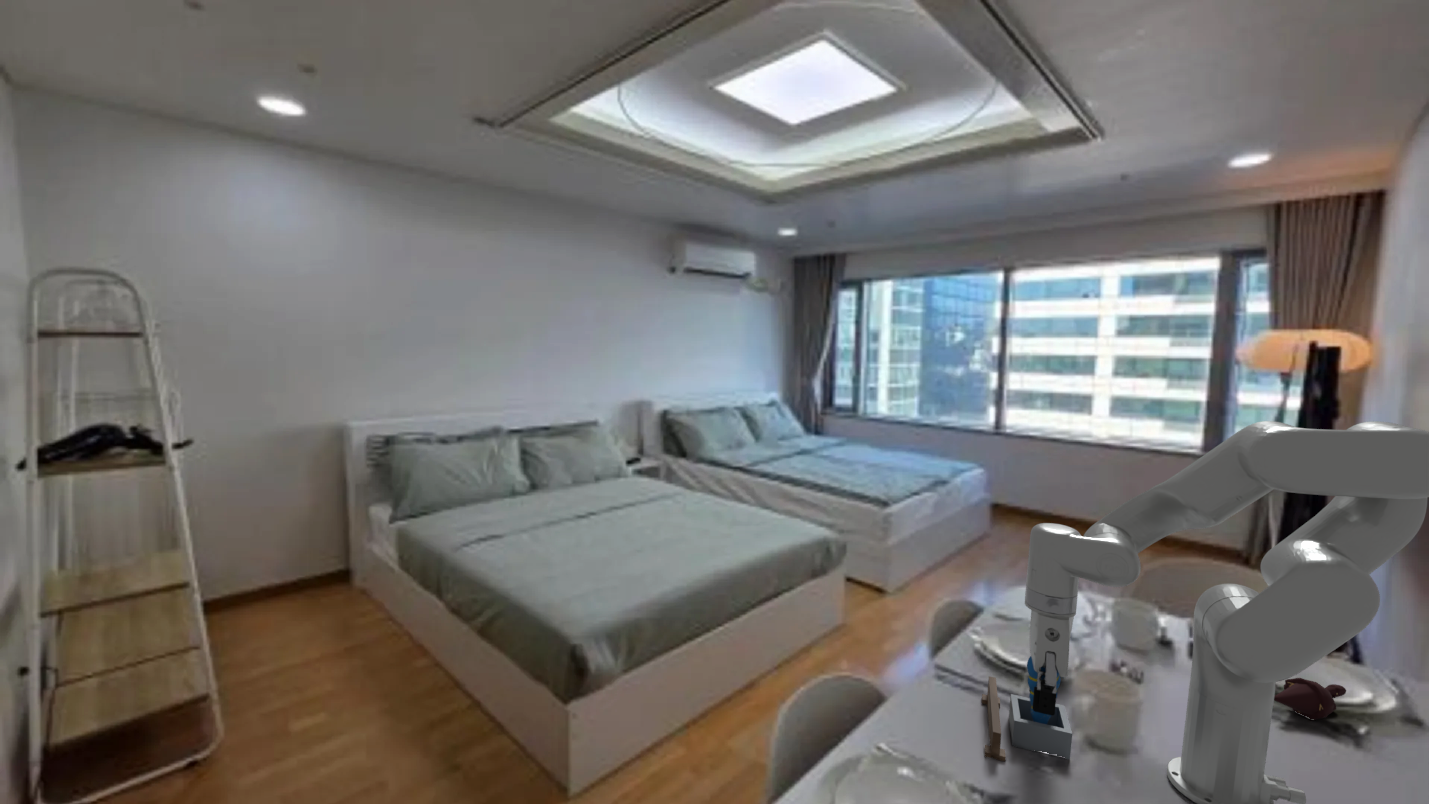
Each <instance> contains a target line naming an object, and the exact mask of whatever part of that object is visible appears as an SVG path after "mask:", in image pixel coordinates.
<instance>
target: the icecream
mask: <svg viewBox="0 0 1429 804" xmlns="http://www.w3.org/2000/svg"><path fill="white" fill-rule="evenodd" d="M1346 693H1347V689H1346V688H1345V687H1344V686H1342V685H1340V684H1335V683H1334V684H1328V685H1326V686H1325V687H1324V686H1322V684H1320V683H1318V682H1316V681H1313V680H1309V679H1305V678H1303V677H1295V678H1288V679H1285V680H1284V684H1283V690H1282V691H1281V692H1278V693H1277V694H1275V696H1274V702H1277V703H1280V704H1282V705H1284V706H1285V707H1287V708H1290V709H1292V710H1293V712H1294V711H1296V712H1297V713H1300V714H1302V715H1304V716H1307V717H1309V718H1310V719H1314V720H1313V721H1316V720H1320V719H1324V718H1327V717H1328V716H1329V715H1330V714H1333V712H1334V711H1337V704H1336V703H1335V700H1334V699H1336V698H1339V697H1343V696H1344V695H1345V694H1346Z"/></svg>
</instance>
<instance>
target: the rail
mask: <svg viewBox="0 0 1429 804" xmlns="http://www.w3.org/2000/svg"><path fill="white" fill-rule="evenodd" d="M997 686H998V685H997V677H994V676H990V675H989V676H988V683H987V694H984V693H982V694H981V704H983V705H986V707H987V718H988V721H987V722H988V733H989V734H988V735H989V745H988V744H984V749H983V750H984V757H985V758H988V759H989V758H990V759H993V760H997V761H1001V762H1005V763H1006V760H1007V759H1006V749H1004V748H1001V744H1002V728H1001V727H1002V725H1001V717H1000V708H1001V699H1000V698H1001V697H999V696H998V687H997Z"/></svg>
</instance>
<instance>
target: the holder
mask: <svg viewBox="0 0 1429 804" xmlns="http://www.w3.org/2000/svg"><path fill="white" fill-rule="evenodd" d="M1031 707H1032V705H1031V702H1030V697H1026V696H1021V695H1017V694H1013V693H1010V698H1009V708H1008V709H1009V710H1008V723H1009V730H1010V740H1011V741H1010V742H1011V746H1012V747H1014V748H1019V749H1022V750H1027V751H1032V750H1033V751H1032V752H1035V751H1042V752H1047V753H1049V754H1057V756H1062V757H1065V758H1066V759H1065V760H1068V759H1069V760H1068V761H1070V760H1071V753H1072V752H1071V751H1072V741H1073V731H1072V729H1071V724H1070V721H1069V717H1068V713H1067V710H1066V706H1065V705H1064V704H1059V703H1056V705H1055V714H1054V715H1051V717H1050V719H1049V721H1048V723H1047V724H1042V723H1038V722H1034V721H1033V718H1032V715H1031ZM1034 750H1035V751H1034Z"/></svg>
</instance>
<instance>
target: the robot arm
mask: <svg viewBox="0 0 1429 804" xmlns="http://www.w3.org/2000/svg"><path fill="white" fill-rule="evenodd" d="M1273 490H1276V491H1280V492H1285V493H1293V494H1294V493H1295V494H1304V495H1315V496H1317V495H1318V496H1328V497H1329V496H1331V497H1333V498H1332V499H1331V501H1330V502H1329V503H1327V505H1325V506H1324V507H1323V508H1322V509H1321V510H1320V511H1319V512H1317V514H1315V516H1313V517H1311V518H1310V519H1309V520H1307V522H1305V523H1304V524H1303V525H1301V526H1300V527H1298V528H1297V529H1296V530H1294V531H1293V532H1292V533H1291V534H1289V535H1288V536H1287V537H1285V538H1284V539H1282V540H1281V541H1280V542H1278V543H1277V544H1276V545H1274V546H1273V547H1272V548H1271V549H1269V550H1268V551H1267V552H1266V553H1265V554H1264V556H1263V558H1262V559H1261V562H1260V574H1261V576H1262V578H1263V580H1264V583H1266V585H1267V587H1266V588H1265V589H1263V590H1262V591H1261V592H1258V591H1256V590H1255V589H1253V588H1250V587H1248V586H1245V585H1243V584H1237V583H1220V584H1215V585H1213V586H1211V587H1209V588H1208V589H1206V590H1205V591H1203V592H1202V593H1201V595H1200V596H1199V597H1198V599H1197V601H1196V602H1195V603H1196V604H1195V607H1194V612H1193V621H1192V622H1193V623H1192V624H1193V626H1192V628H1193V629H1192V630H1193V631H1192V632H1193V633H1192V636H1193V637H1192V641H1193V642H1192V644H1193V645H1192V658H1191V668H1190V669H1191V670H1190V680H1189V686H1188V695H1187V704H1186V711H1185V712H1186V713H1185V721H1184V729H1183V738H1182V746H1181V747H1182V748H1181V749H1182V750H1181V756H1178V757H1173V758H1172V759H1170V760H1169V761H1168V762H1167V767H1166V775H1167V778H1168V780H1169V781H1170V783H1171V784H1172V785H1173V786H1174V787H1175V788H1176V789H1177V790H1178V791H1179V792H1180V793H1181V794H1182V795H1183V796H1185V797H1186V798H1187V799H1188V800H1191V801H1192V802H1194V803H1195V804H1275V802H1274V801H1278V800H1279V799H1280V800H1284V801H1287V802H1290V803H1294V804H1307V796H1306V793H1305V791H1304V790H1302V789H1300V788H1295V787H1291V786H1287V783H1286V780H1285V778H1284V777H1279V776H1278V777H1277V776H1274V775H1268V774H1266V773H1265V769H1266V762H1267V754H1268V753H1267V752H1268V748H1269V747H1268V746H1269V740H1270V732H1271V731H1270V730H1271V724H1272V715H1273V709H1274V703H1275V700H1274V696H1275V695H1276V683H1277V682H1282V681H1285V680H1287V679H1291V678H1292V677H1294V676H1297V675H1298V674H1300V673H1302V672H1303V671H1305V670H1306V669H1308V668H1310V667H1311V666H1312V665H1314V664H1315V663H1317V662H1319V661H1320V660H1321V659H1323V658H1324V657H1326V656H1328V655H1329V654H1330V653H1332V652H1333V651H1335V650H1336V649H1338V648H1339V647H1341V646H1342V645H1344V644H1345V643H1346V642H1348V641H1350V640H1351V639H1353V638H1354V637H1356V636H1357V635H1359V633H1361V632H1362V631H1364V630H1365V629H1366V628H1367V627H1368V626H1369V624H1371V622H1372V621H1373V620H1374V618H1375V617H1376V615H1377V613H1378V611H1379V608H1380V603H1381V596H1380V591H1379V588H1378V585H1377V584H1376V582H1375V581H1374V579H1373V577H1372V576H1371V574H1372V573H1373V572H1375V571H1376V570H1377V569H1379V568H1380V567H1381V566H1383V565H1384V564H1385V563H1386V562H1388V561H1389V560H1390V559H1391V558H1392V557H1393V556H1395V555H1396V554H1397V553H1399V552H1400V551H1401V550H1402V549H1404V548H1405V547H1406V546H1407V545H1408V544H1409V543H1410V542H1411V541H1412V540H1413V539H1414V538H1415V536H1416V535H1417V534H1418V532H1419V531H1420V529H1421V527H1422V526H1423V523H1424V520H1425V517H1426V513H1427V509H1428V508H1427V507H1428V498H1429V431H1427V430H1425V429H1421V428H1420V429H1419V428H1414V427H1411V426H1406V425H1402V424H1399V423H1393V422H1388V421H1374V420H1373V421H1364V422H1360V423H1357V424H1354V425H1352V426H1350V427H1348V428H1347V429H1324V428H1323V429H1322V428H1320V429H1319V428H1318V429H1317V428H1308V427H1307V428H1304V427H1297V426H1294V425H1291V424H1288V423H1285V422H1280V421H1275V420H1274V421H1272V420H1264V421H1257V422H1254V423H1251V424H1249V425H1247V426H1245V427H1243V428H1241V429H1240V430H1238V431H1236V432H1235V433H1234V434H1232V435H1231V436H1229V437H1228V438H1227V439H1225V440H1224V441H1223V442H1221V443H1219V444H1218V445H1217V446H1215V447H1214V448H1212V449H1211V450H1209V451H1208V452H1207V453H1205V454H1204V455H1202V456H1201V457H1199V458H1197V459H1196V460H1195V461H1193V462H1192V463H1191V464H1189V465H1187V466H1186V467H1185V468H1183V469H1181V470H1180V471H1179V472H1177V473H1176V474H1174V475H1172V476H1171V477H1170V478H1168V479H1166V480H1165V481H1163V482H1161V483H1159V484H1156V485H1154V486H1153V487H1151V488H1150V489H1148V490H1145V491H1144V492H1141V493H1140V494H1137V495H1136V496H1134V497H1132V498H1131V499H1129V500H1127V501H1125V502H1123V503H1122V504H1121V505H1119V506H1117V507H1116V508H1115V509H1113V510H1112V511H1110V512H1109V513H1108V514H1105V516H1103V517H1102V518H1101V519H1099V520H1098V521H1096V522H1095V523H1094V524H1092V525H1091V526H1090V527H1089V528H1088V529H1087V530H1086V531H1085V532H1084V533H1083V536H1082V535H1081V533H1080V532H1079V531H1078V530H1077V529H1076V528H1074V527H1070V526H1068V525H1064V524H1060V523H1052V522H1051V523H1050V522H1043V523H1037V524H1036V525H1034V526H1033V527H1032V528H1031V531H1030V533H1029V534H1030V535H1029V545H1028V547H1029V548H1028V558H1027V571H1026V581H1025V582H1026V583H1025V592H1024V593H1025V595H1024V606H1025V607H1027V608H1028V609H1029V610H1030V611H1031V612H1030V623H1029V624H1030V625H1029V638H1028V639H1029V653H1030V656H1031V658H1032V664H1033V668H1034V670H1035V671H1036V672H1037V683H1036V687H1034V696H1033V711H1035V712H1039V713H1043V714H1048V715H1054V714H1055V705H1056V704H1057V702H1056V701H1057V698H1056V694H1057V695H1058V691H1057V692H1056V682H1057V669H1058V672H1059V676H1060V678H1062V679H1067V678H1068V677H1069V662H1070V661H1069V659H1070V658H1069V656H1070V642H1071V636H1070V622H1069V618H1070V617H1073V616H1074V617H1075V616H1076V614H1077V605H1078V595H1079V585H1080V584H1079V583H1080V579H1083V580H1087V581H1089V582H1093V583H1095V584H1098V585H1101V586H1106V587H1111V588H1123V587H1127V586H1130V585H1132V584H1134V583H1135V581H1136V580H1138V579H1139V576H1140V574H1141V571H1142V570H1141V569H1142V568H1141V567H1142V565H1141V560H1140V559H1141V558H1140V556H1139V553H1141V552H1142V551H1144V550H1146V549H1147V548H1148V547H1150V546H1151V545H1153V544H1155V543H1157V542H1158V541H1160V540H1161V539H1164V538H1165V537H1168V536H1169V535H1172V534H1175V533H1178V532H1181V531H1184V530H1185V531H1186V530H1194V529H1195V530H1196V529H1197V530H1199V529H1208V528H1211V527H1215V526H1219V525H1221V524H1222V523H1224V522H1225V521H1226V520H1228V519H1229V518H1231V517H1233V516H1234V515H1236V514H1237V513H1239V512H1241V511H1242V510H1244V509H1245V508H1246V507H1248V506H1250V505H1251V504H1253V503H1254V502H1256V501H1258V500H1260V499H1261V498H1263V497H1264V496H1265V495H1267V494H1269V493H1270V492H1272V491H1273ZM1069 641H1070V642H1069ZM1041 667H1044V668H1045V671H1043V670H1041ZM1041 675H1044V676H1045V679H1042V681H1041ZM1028 688H1029V687H1028ZM1028 691H1029V693H1030V688H1029V689H1028Z"/></svg>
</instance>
